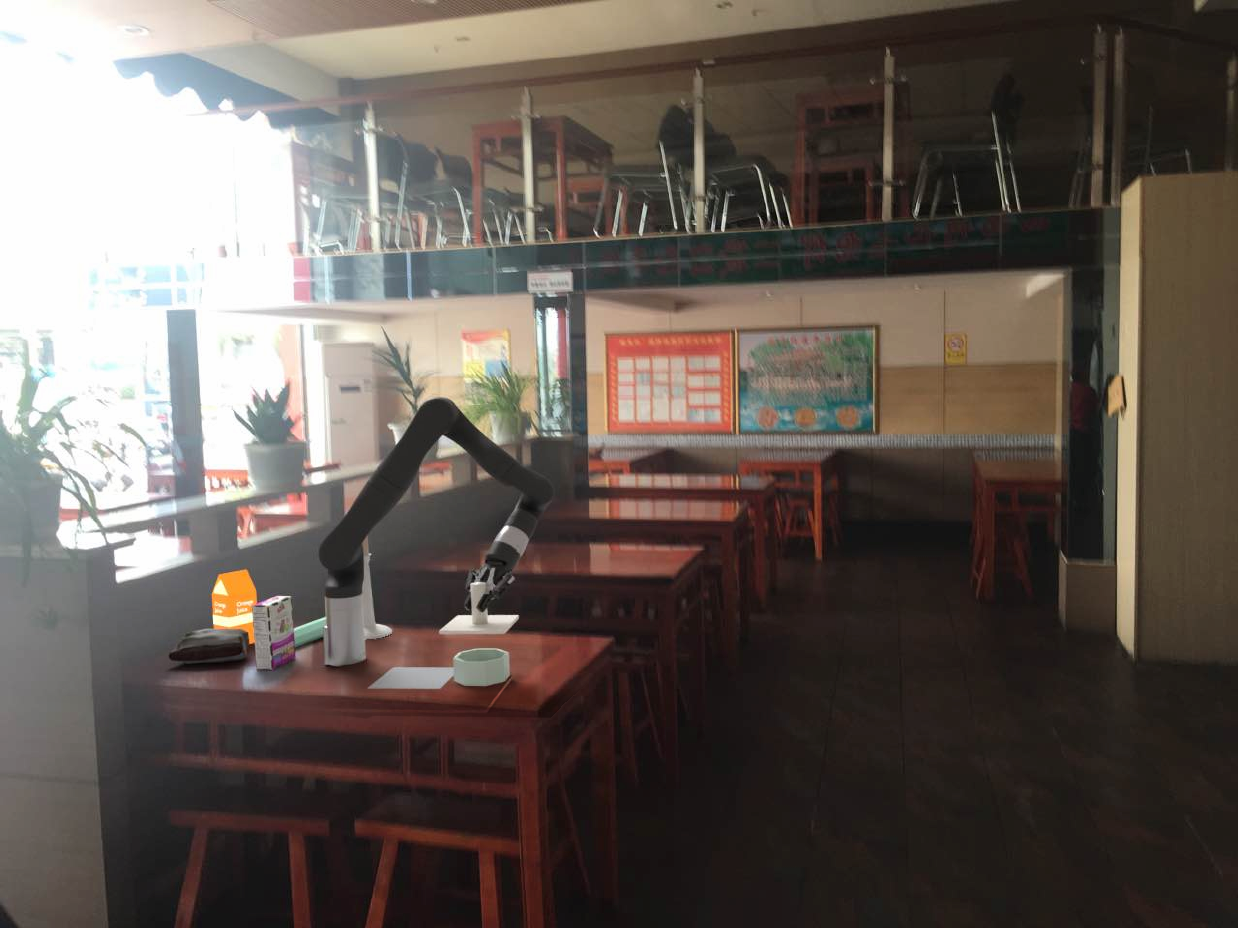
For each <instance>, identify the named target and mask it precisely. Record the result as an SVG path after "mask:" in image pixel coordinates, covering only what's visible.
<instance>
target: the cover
mask: <svg viewBox="0 0 1238 928" xmlns="http://www.w3.org/2000/svg"><path fill="white" fill-rule="evenodd" d="M485 591H486V583H485V582H475V583H471V607H472V609H471V614H470V615H469V614H467V615H466V614H463V615H462V614H461V615H459V614H458V615H456V616H455V617H454V618H453V619H451V620H450V621H449V622H448V623H446V624H445V625H444V626H443V627H442V628H440V629H439V631H438V633H439V635H505V634H506V633H507V632H508V631H509V630H510V629H511V628H512V626H514V624H515V623H517V621H518V620H519V619H520V615H518V614H507V615H506V614H494V615H493V614H489V615H488V608H487V609H486V610H485V611H484V612H480V611H479V610H478V609H477V605H478V603H479V601H480V599H481V598H482V596H483V594H485Z"/></svg>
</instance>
